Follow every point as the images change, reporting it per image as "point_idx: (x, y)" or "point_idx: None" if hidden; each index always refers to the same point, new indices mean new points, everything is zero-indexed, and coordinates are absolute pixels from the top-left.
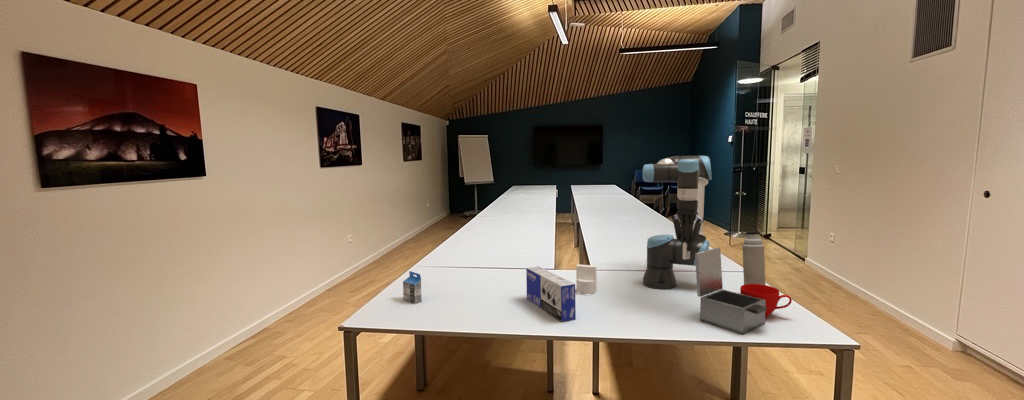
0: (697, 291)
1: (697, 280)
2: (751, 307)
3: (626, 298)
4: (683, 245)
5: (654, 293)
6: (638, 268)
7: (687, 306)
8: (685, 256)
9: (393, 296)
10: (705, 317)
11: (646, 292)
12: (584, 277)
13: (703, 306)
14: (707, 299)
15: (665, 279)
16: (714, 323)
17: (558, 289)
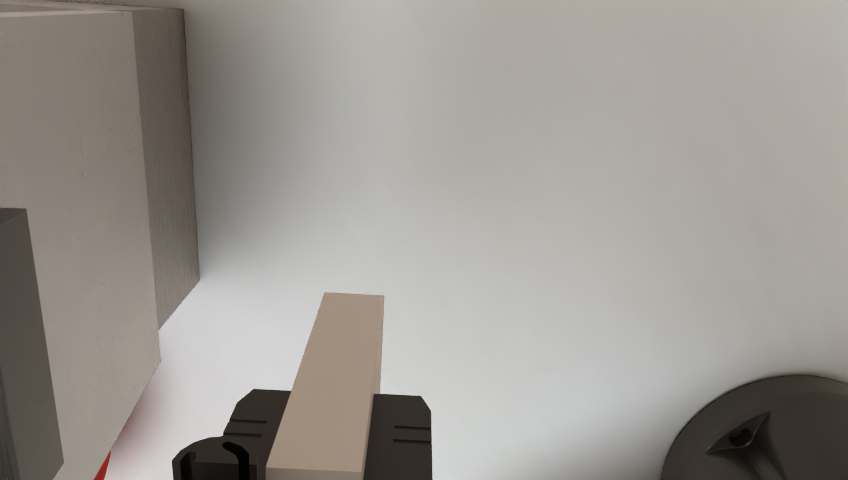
0: (112, 13)
1: (50, 13)
2: None
3: (840, 34)
4: (349, 429)
5: (715, 291)
6: None
7: (404, 215)
8: (325, 313)
9: None
10: (124, 6)
11: (774, 270)
12: None
13: (105, 7)
14: (30, 6)
15: (730, 469)
16: (63, 1)
17: None
